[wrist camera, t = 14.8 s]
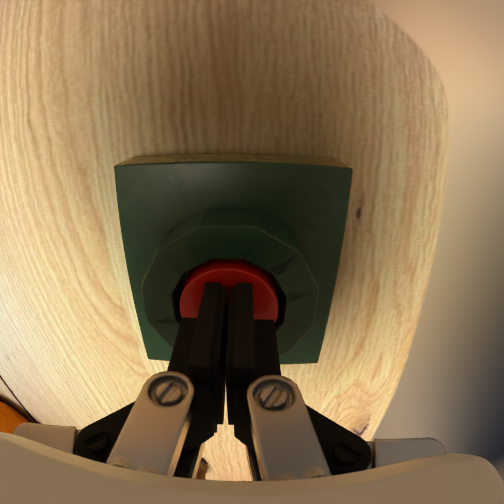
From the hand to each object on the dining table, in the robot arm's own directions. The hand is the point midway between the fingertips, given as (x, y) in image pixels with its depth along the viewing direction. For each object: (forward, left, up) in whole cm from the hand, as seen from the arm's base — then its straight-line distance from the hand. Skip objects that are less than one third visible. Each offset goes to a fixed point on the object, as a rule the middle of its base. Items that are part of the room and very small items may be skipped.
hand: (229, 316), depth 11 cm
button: (0, 0, -2) cm, 2 cm away
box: (0, 0, -4) cm, 4 cm away
